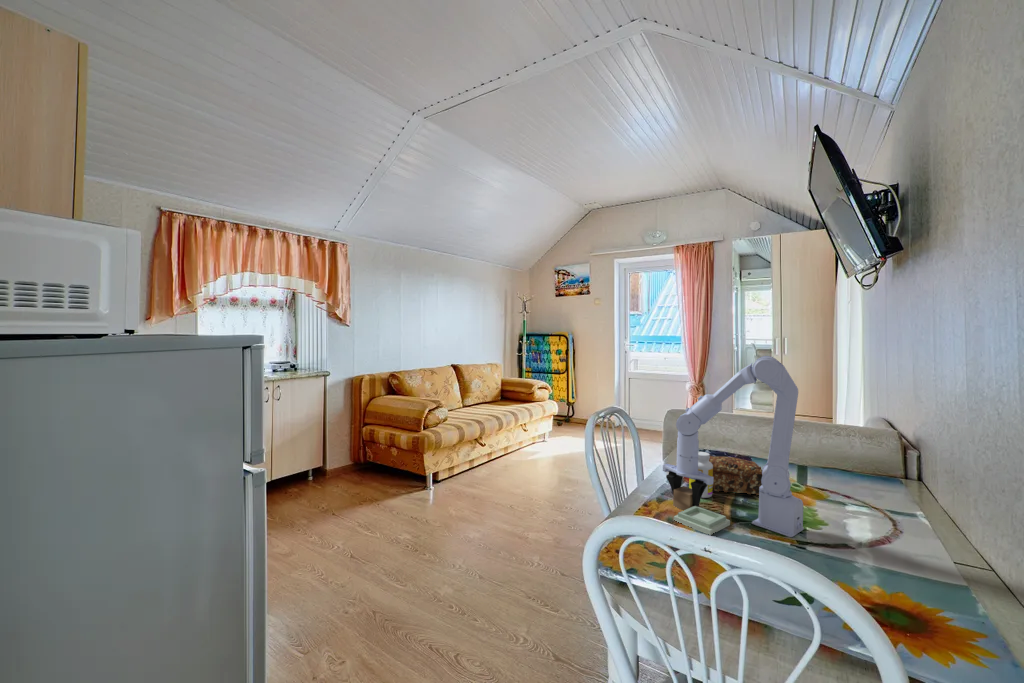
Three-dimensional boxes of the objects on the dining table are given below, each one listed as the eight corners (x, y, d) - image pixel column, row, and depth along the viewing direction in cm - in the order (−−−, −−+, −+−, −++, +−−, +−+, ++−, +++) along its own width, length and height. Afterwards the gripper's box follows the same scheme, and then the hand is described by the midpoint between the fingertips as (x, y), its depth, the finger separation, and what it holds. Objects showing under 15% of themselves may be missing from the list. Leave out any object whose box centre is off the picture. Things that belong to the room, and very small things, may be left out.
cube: (699, 508, 123) (699, 491, 123) (689, 513, 120) (689, 495, 120) (682, 503, 127) (683, 486, 127) (673, 507, 124) (673, 489, 124)
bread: (699, 490, 138) (699, 459, 138) (694, 479, 148) (695, 450, 148) (764, 498, 133) (765, 465, 133) (755, 486, 143) (756, 456, 143)
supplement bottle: (707, 491, 137) (709, 450, 137) (715, 499, 131) (716, 456, 130) (686, 490, 138) (687, 449, 138) (692, 498, 131) (693, 455, 131)
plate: (730, 524, 113) (730, 516, 113) (710, 535, 107) (710, 526, 107) (694, 511, 121) (694, 504, 121) (673, 520, 115) (673, 512, 115)
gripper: (657, 451, 127) (655, 497, 127) (704, 464, 115) (703, 514, 116) (670, 448, 131) (669, 492, 132) (718, 459, 120) (716, 508, 120)
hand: (686, 502), depth 124 cm, fingers open, 5 cm apart
